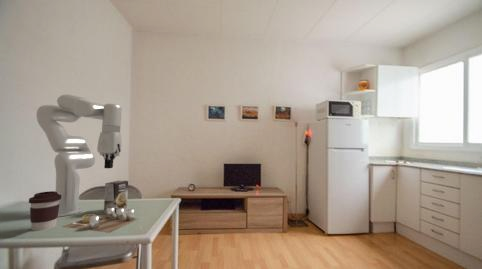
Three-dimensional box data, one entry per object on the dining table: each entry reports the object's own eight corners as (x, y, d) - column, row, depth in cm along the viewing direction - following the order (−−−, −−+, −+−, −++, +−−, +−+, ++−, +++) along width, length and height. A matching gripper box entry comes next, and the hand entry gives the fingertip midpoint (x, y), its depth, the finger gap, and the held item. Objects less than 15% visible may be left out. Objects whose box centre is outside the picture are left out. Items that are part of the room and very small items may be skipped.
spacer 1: (87, 229, 84) (87, 217, 84) (94, 226, 87) (95, 215, 88) (93, 229, 83) (94, 218, 84) (100, 226, 86) (101, 215, 87)
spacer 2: (104, 218, 96) (104, 208, 97) (110, 216, 99) (110, 206, 100) (110, 219, 96) (110, 209, 96) (116, 217, 99) (116, 207, 99)
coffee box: (114, 216, 103) (115, 183, 104) (103, 215, 104) (104, 182, 105) (127, 211, 112) (128, 180, 113) (117, 210, 113) (118, 180, 114)
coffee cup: (65, 226, 90) (67, 191, 91) (39, 235, 80) (41, 196, 81) (48, 224, 92) (50, 189, 93) (20, 233, 83) (22, 194, 84)
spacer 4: (124, 220, 94) (124, 210, 94) (129, 218, 97) (130, 208, 97) (130, 221, 93) (130, 211, 93) (135, 218, 96) (136, 208, 96)
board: (62, 229, 87) (62, 226, 87) (97, 217, 102) (97, 214, 102) (109, 235, 81) (109, 231, 81) (139, 221, 96) (139, 218, 96)
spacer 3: (114, 219, 95) (114, 209, 95) (120, 217, 98) (120, 207, 98) (120, 220, 94) (120, 210, 95) (125, 217, 97) (126, 208, 98)
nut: (79, 222, 91) (79, 217, 91) (90, 218, 96) (90, 213, 96) (87, 223, 90) (87, 217, 90) (97, 219, 95) (98, 214, 95)
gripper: (91, 128, 100) (89, 167, 99) (116, 129, 95) (114, 170, 95) (106, 130, 107) (103, 166, 106) (129, 130, 103) (127, 168, 102)
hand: (108, 168), depth 100 cm, fingers closed
